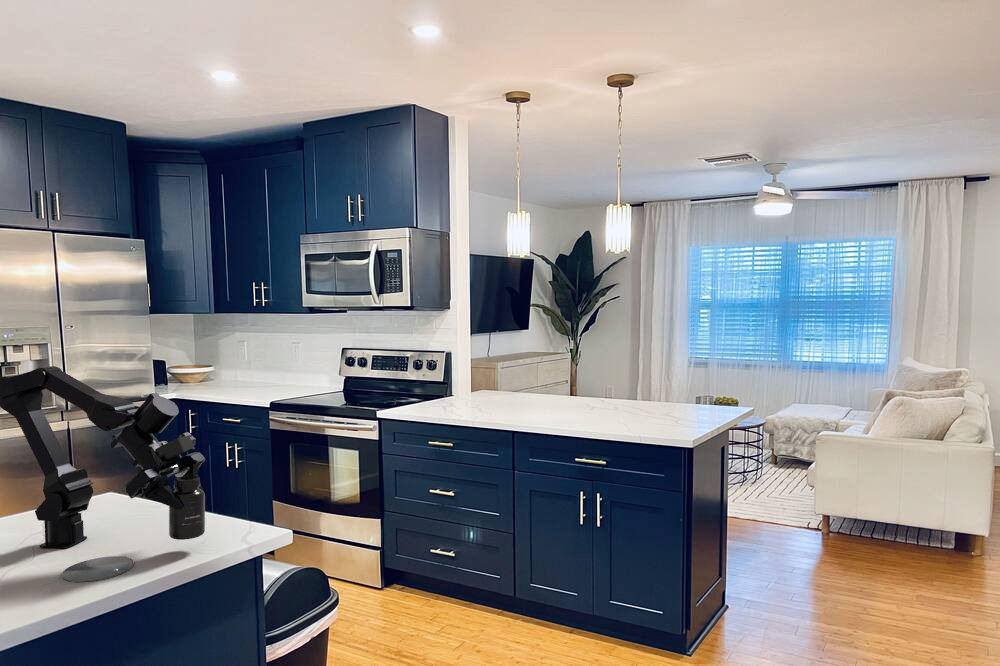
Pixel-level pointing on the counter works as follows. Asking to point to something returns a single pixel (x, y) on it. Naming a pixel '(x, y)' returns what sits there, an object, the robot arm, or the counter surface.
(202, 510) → the supplement bottle
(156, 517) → the counter surface
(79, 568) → the slate coaster
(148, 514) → the counter surface
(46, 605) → the counter surface
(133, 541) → the counter surface
